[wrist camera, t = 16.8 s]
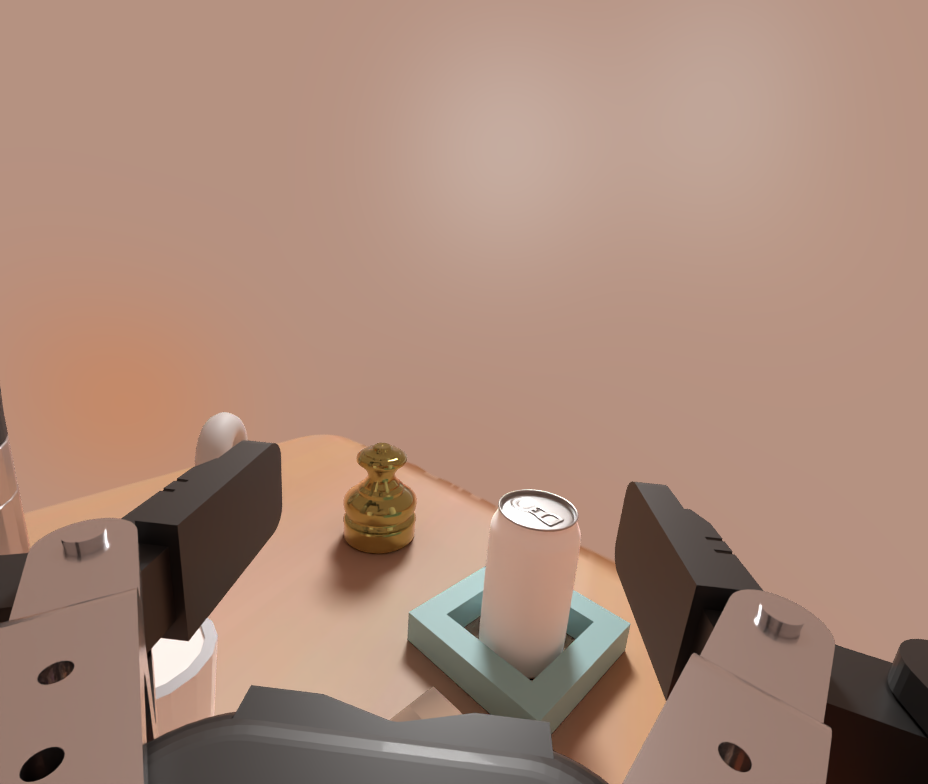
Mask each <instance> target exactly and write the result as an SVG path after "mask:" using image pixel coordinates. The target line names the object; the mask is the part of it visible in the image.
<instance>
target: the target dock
mask: <svg viewBox="0 0 928 784" xmlns="http://www.w3.org/2000/svg"><path fill="white" fill-rule="evenodd" d="M485 568H486V566H485V567H483V568H482V569H480V570H478V571H477V572H475V573H473V574H472V575H470V576H468V577H467V578H465V579H463V580H462V581H460V582H458V583H457V584H455V585H453V586H452V587H450V588H448V589H447V590H445V591H443V592H442V593H440V594H438V595H437V596H435V597H433V598H432V599H430V600H428V601H427V602H425V603H424V604H422V605H420V606H419V607H417V608H415V609H414V610H412V611H410V612H409V620H408V639H407V640H409V641H410V642H411V643H412V644H413V645H414V646H415V647H416V648H417V649H419V650H420V651H421V652H422V653H423V654H424V655H425V656H426V657H427V658H429V659H430V660H431V661H432V662H433V663H434V664H435V665H436V666H437V667H439V668H440V669H441V670H442V671H443V672H444V673H445V674H446V675H447V676H449V677H450V678H451V679H452V680H453V681H454V682H455V683H456V684H457V685H458V686H460V687H461V688H462V689H463V690H464V691H465V692H466V693H467V694H468V695H470V696H471V697H472V698H473V699H474V700H475V701H476V702H477V703H478V704H480V705H481V706H482V707H483V708H484V709H485V710H486V711H487V712H488V713H490V714H491V715H496V716H504V717H512V718H520V719H529V720H537V721H545V722H550V731H551V734H552V733H553V732H554V731H555V730H556V728H557V727H558V726H559V725H560V724H561V723H562V722H563V720H564V719H565V718H566V717H567V716H568V715H569V714H570V712H571V711H572V710H573V709H574V708H575V707H576V706H577V704H578V703H579V702H580V701H581V700H582V699H583V698H584V696H585V695H586V694H587V693H588V692H589V691H590V690H591V689H592V687H593V686H594V685H595V684H596V683H597V682H598V681H599V679H600V678H601V677H602V676H603V675H604V674H605V673H606V671H607V670H608V669H609V668H610V667H611V666H612V665H613V663H614V662H615V661H616V660H617V659H618V658H619V657H620V655H621V654H622V653H623V652H624V651H625V648H626V643H627V638H628V633H629V628H630V623H628V622H627V621H625V620H623V619H621V618H620V617H618V616H616V615H615V614H613V613H611V612H610V611H608V610H606V609H605V608H603V607H601V606H599V605H598V604H596V603H594V602H593V601H591V600H589V599H588V598H586V597H584V596H583V595H581V594H579V593H577V592H576V591H574V590H573V594H572V600H571V606H570V612H569V618H568V624H567V630H566V633H567V634H568V635H570V636H571V637H573V638H574V639H576V640H575V641H574V642H572V643H571V644H570V645H569V646H568V647H567V648H566V649H565V650H564V651H563V652H562V653H561V654H560V655H559V656H558V657H557V658H556V659H555V660H554V661H553V662H552V663H550V664H549V665H548V666H547V667H546V668H545V669H544V670H543V671H542V672H541V673H540V674H539V675H538V676H537V677H536V678H535V679H534V680H533V681H531V680H530V679H528V678H527V677H526V676H525V675H523V674H522V673H521V672H519V671H518V670H517V669H516V668H514V667H513V666H512V665H510V664H509V663H508V662H507V661H505V660H504V659H503V658H502V657H500V656H499V655H498V654H496V653H495V652H494V651H493V650H491V649H490V648H489V647H488V646H486V645H485V644H484V643H482V642H481V641H480V640H479V639H477V638H476V637H475V636H473V635H472V634H471V633H470V632H468V631H467V630H466V629H465V628H464V627H465V626H467V625H468V624H469V623H471V622H472V621H474V620H475V619H477V618H478V617H479V616H481V607H482V597H483V587H484V578H485Z"/></svg>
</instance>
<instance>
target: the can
mask: <svg viewBox="0 0 928 784" xmlns="http://www.w3.org/2000/svg"><path fill="white" fill-rule="evenodd" d="M577 520H578V512H577V510H576V508H575V507H574V506H573V505H572V504H571V503H570V502H569V501H567V500H566V499H564V498H562V497H560V496H558V495H555V494H552V493H549V492H545V491H540V490H516V491H512V492H509V493H507V494H505V495H504V496H502V497H501V498H500V500H499V503H498V509H497V511H496V512H495V514H494V515H493V517H492V520H491V524H490V531H489V540H488V549H487V559H486V568H485V578H484V587H483V597H482V607H481V617H480V628H479V640H480V641H481V642H482V643H484V644H485V645H486V646H488V647H489V648H490V649H491V650H493V651H494V652H495V653H496V654H498V655H499V656H500V657H502V658H503V659H504V660H505V661H507V662H508V663H509V664H510V665H512V666H513V667H514V668H516V669H517V670H518V671H519V672H521V673H522V674H523V675H525V676H526V677H527V678H528V679H531V678H536V677H537V676H538V675H539V674H540V673H541V672H542V671H543V670H544V669H545V668H546V667H547V666H548V665H549V664H550V663H552V662H553V661H554V660H555V659H556V658H557V657H558V656H559V655H560V654H561V653H562V652H563V648H564V642H565V636H566V630H567V624H568V618H569V612H570V606H571V600H572V594H573V588H574V582H575V575H576V569H577V563H578V556H579V550H580V542H581V533H580V529H579V526H578V523H577Z"/></svg>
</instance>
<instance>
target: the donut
mask: <svg viewBox="0 0 928 784" xmlns="http://www.w3.org/2000/svg"><path fill="white" fill-rule="evenodd" d="M243 440H247V441H248V439H247V433H246V430H245V427H244V425H243V423H242V421H241V420H240V419H239V418H238V417H237V416H235V415H233V414H230V413H226V412H223V413H219V414H217V415H215V416H213V417H211V418H210V419H208V420H207V422H206V423H205V425H204V426H203V428H202V430H201V433H200V435H199V438H198V442H197V447H196V456H195V466H197V465H200V464H202V463H205V462H208V461H210V460H213V459H215V458H219V457H220V456H222V455H223V454H224V453H226V452H227V451H228V450H230V449H231V448H232V447H234V446H235V445H236V444H238V443H239V442H240V441H243Z"/></svg>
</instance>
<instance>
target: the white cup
mask: <svg viewBox="0 0 928 784" xmlns="http://www.w3.org/2000/svg"><path fill="white" fill-rule="evenodd" d="M217 642H218V635H217V632H216V629H215V627H214V624H213V621H211V620H210V619H208V618H207V619H206V620H205V621H204V622H203V624H202V625H201V626H200V628H199V629H198V630H197V631H196V633H195V634H194V635H193V636H192V638H191V639H190V640H189V641H181V640H173V639H164V638H160V640H159V641H158V642H157V643H156V644H155V645H154V646H153V648H152V654H153V662H154V677H155V692H156V706H157V721H158V736H161V735H163V734H165V733H167V732H170V731H172V730H174V729H177V728H179V727H181V726H184V725H186V724H189V723H192V722H195V721H198V720H201V719H204V718H208V717H212V716H214V708H215V686H216V664H217Z"/></svg>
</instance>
